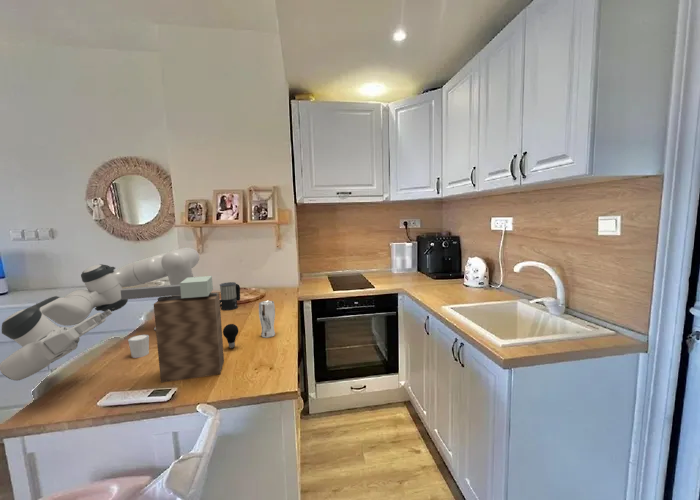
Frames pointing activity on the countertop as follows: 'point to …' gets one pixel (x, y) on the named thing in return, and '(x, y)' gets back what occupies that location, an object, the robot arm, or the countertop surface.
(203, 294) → the grey mallet
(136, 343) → the white short cylinder
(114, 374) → the countertop surface
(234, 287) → the milk frother
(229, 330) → the light bulb
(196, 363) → the walnut stand
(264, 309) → the beer glass
